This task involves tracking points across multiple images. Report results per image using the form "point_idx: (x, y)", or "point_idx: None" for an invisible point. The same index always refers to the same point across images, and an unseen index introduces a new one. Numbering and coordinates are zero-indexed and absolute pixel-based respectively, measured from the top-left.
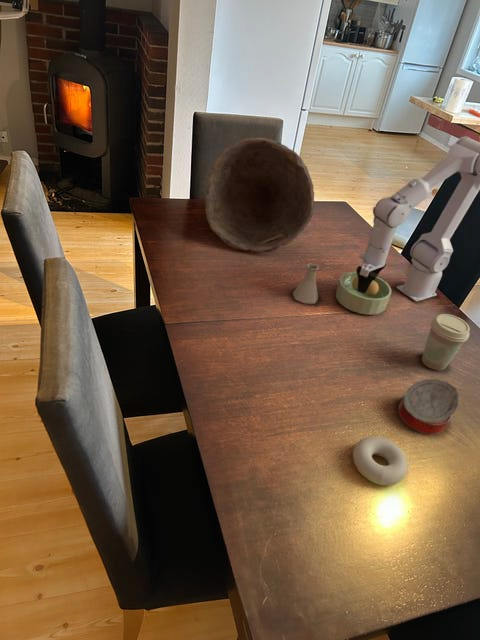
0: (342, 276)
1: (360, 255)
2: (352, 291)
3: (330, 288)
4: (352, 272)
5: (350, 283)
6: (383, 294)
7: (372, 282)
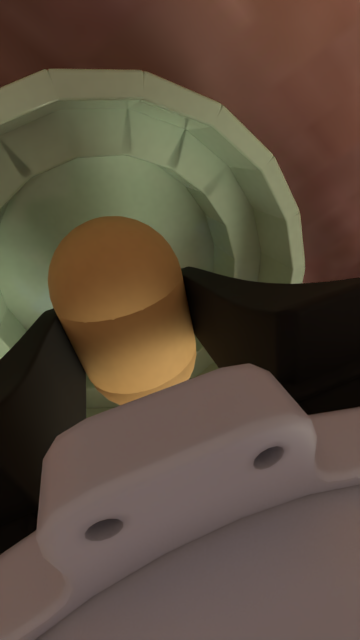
0: (40, 91)
1: (87, 530)
2: (147, 188)
3: (44, 16)
4: (217, 122)
5: (148, 161)
6: (207, 355)
7: (140, 394)
